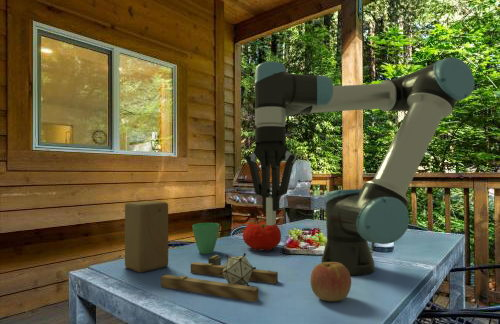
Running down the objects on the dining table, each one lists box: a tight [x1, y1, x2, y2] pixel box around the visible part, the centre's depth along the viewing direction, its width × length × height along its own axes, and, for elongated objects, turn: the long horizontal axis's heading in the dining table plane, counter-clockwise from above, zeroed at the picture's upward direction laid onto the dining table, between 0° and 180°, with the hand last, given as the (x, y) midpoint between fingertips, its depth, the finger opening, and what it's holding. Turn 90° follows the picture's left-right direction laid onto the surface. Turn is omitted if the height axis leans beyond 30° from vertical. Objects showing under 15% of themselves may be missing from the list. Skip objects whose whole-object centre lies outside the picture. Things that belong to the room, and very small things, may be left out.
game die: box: [219, 252, 257, 286], centre depth 82 cm, size 9×8×10 cm
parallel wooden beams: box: [160, 254, 279, 303], centre depth 85 cm, size 26×18×4 cm
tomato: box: [242, 221, 282, 252], centre depth 124 cm, size 14×16×10 cm
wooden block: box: [124, 200, 169, 274], centre depth 101 cm, size 10×10×20 cm
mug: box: [192, 222, 220, 255], centre depth 121 cm, size 15×10×10 cm
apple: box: [310, 262, 352, 302], centre depth 73 cm, size 9×9×8 cm
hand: (271, 224), depth 79 cm, fingers closed
